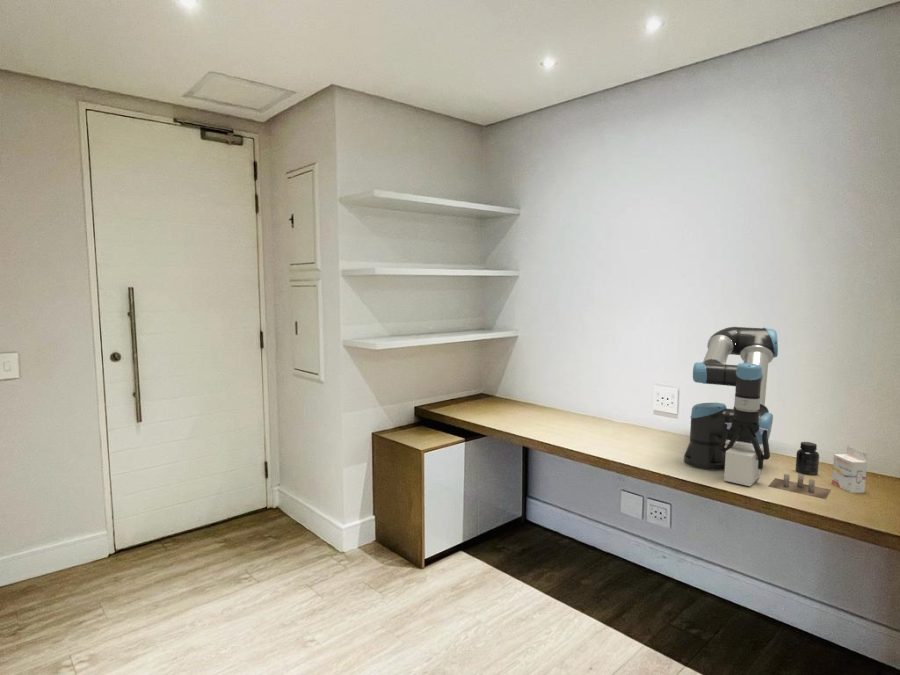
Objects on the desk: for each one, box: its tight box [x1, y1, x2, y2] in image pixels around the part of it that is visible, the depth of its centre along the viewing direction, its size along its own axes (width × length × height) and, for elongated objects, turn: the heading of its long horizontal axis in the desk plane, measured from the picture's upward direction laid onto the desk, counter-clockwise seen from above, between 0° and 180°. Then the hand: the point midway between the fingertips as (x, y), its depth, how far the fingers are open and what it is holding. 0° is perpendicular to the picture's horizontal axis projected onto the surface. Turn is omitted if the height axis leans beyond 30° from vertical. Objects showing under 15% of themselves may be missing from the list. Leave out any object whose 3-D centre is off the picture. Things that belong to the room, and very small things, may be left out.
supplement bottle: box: [795, 441, 820, 476], centre depth 196 cm, size 7×7×12 cm
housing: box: [723, 443, 763, 487], centre depth 187 cm, size 13×8×10 cm, turn 139°
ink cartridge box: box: [831, 445, 868, 494], centre depth 181 cm, size 9×5×15 cm, turn 5°
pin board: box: [767, 473, 831, 500], centre depth 181 cm, size 16×11×6 cm
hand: (742, 474), depth 188 cm, fingers closed on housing, 8 cm apart
